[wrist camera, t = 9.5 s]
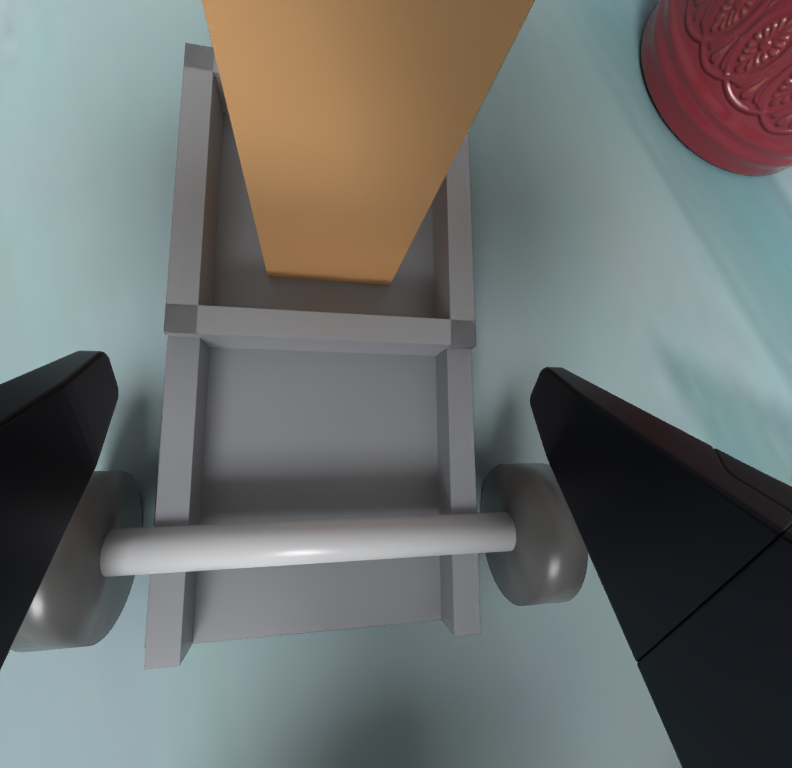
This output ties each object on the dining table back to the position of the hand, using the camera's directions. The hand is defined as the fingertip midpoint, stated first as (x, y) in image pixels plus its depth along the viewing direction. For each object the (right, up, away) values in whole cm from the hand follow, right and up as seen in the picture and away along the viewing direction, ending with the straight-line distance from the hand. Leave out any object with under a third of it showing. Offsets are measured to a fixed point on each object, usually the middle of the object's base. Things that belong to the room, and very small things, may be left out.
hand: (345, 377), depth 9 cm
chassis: (-2, +1, +9) cm, 9 cm away
